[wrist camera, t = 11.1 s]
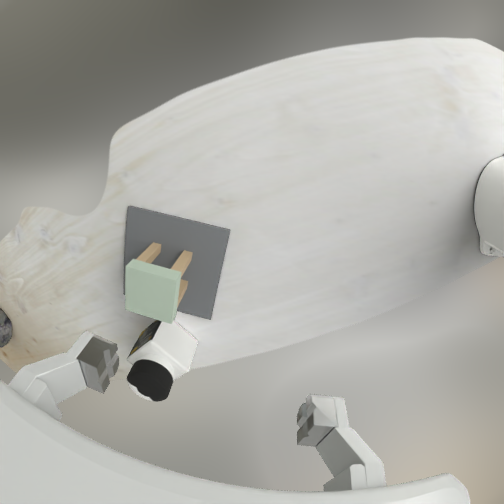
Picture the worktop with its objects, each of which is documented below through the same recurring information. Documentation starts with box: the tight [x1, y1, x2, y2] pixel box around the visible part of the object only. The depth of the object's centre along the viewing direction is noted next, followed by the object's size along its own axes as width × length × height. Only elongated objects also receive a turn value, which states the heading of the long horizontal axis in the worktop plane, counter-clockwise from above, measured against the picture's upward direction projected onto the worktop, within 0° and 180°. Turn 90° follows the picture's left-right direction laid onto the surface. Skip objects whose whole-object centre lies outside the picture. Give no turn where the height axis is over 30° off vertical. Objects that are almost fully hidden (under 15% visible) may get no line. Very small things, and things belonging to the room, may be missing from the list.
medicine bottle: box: [127, 320, 198, 401], centre depth 36 cm, size 7×7×12 cm
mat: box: [124, 206, 230, 320], centre depth 37 cm, size 14×14×1 cm
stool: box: [125, 242, 193, 324], centre depth 33 cm, size 6×6×8 cm
